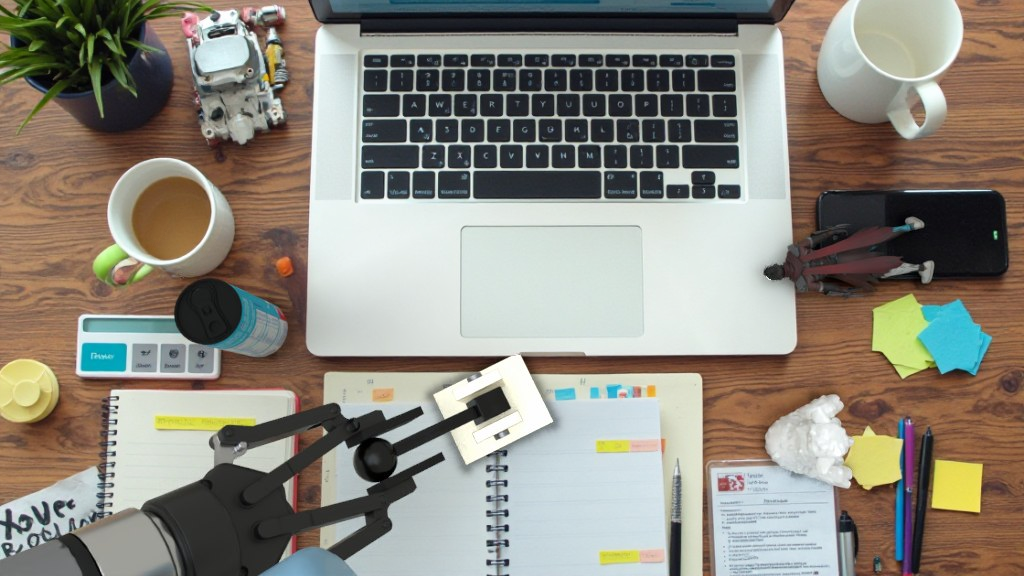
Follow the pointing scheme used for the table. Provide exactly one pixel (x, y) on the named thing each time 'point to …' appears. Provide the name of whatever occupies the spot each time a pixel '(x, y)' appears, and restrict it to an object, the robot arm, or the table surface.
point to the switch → (423, 437)
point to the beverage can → (229, 319)
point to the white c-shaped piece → (505, 427)
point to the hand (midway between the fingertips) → (423, 437)
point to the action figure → (846, 260)
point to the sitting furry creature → (812, 442)
